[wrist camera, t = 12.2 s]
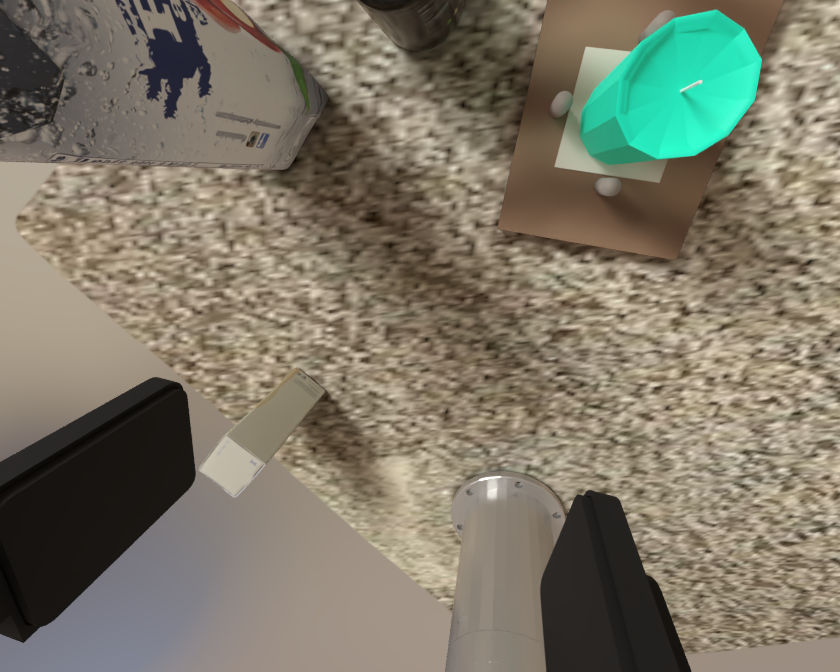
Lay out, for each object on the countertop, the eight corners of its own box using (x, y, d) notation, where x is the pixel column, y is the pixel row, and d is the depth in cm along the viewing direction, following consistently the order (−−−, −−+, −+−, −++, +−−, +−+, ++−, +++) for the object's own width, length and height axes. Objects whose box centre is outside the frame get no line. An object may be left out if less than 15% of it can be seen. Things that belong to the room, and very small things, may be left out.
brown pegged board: (670, 257, 31) (692, 268, 28) (497, 227, 33) (496, 233, 29) (786, -29, 24) (838, -67, 20) (557, -47, 26) (566, -86, 22)
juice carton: (293, 186, 35) (-180, 206, 11) (201, 104, 34) (-551, -76, 10) (347, 97, 32) (-182, -166, 7) (245, 2, 31) (-768, -674, 6)
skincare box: (297, 365, 43) (225, 430, 32) (328, 391, 43) (267, 464, 32) (270, 398, 45) (194, 469, 34) (299, 422, 46) (233, 500, 35)
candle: (677, 147, 27) (788, 127, 17) (587, 177, 29) (635, 178, 18) (665, 52, 26) (781, -38, 15) (570, 92, 28) (612, 36, 17)
